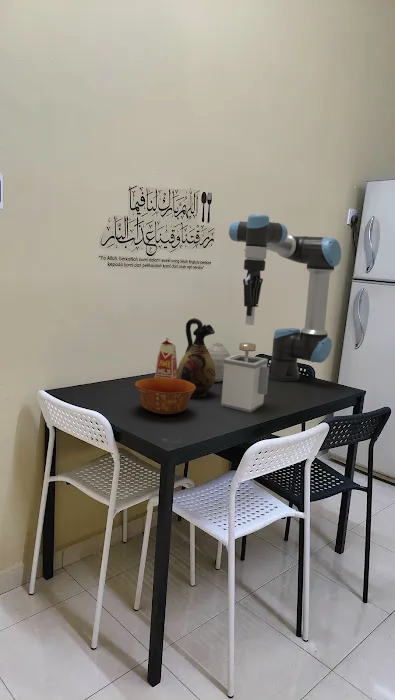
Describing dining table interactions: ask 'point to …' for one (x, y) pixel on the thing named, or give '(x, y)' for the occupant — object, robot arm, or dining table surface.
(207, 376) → the ceramic jug
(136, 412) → the dining table surface
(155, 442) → the dining table surface
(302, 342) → the robot arm
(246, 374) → the box
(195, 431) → the dining table surface
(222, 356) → the vase
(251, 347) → the plunger
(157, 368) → the milk carton
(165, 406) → the bowl
